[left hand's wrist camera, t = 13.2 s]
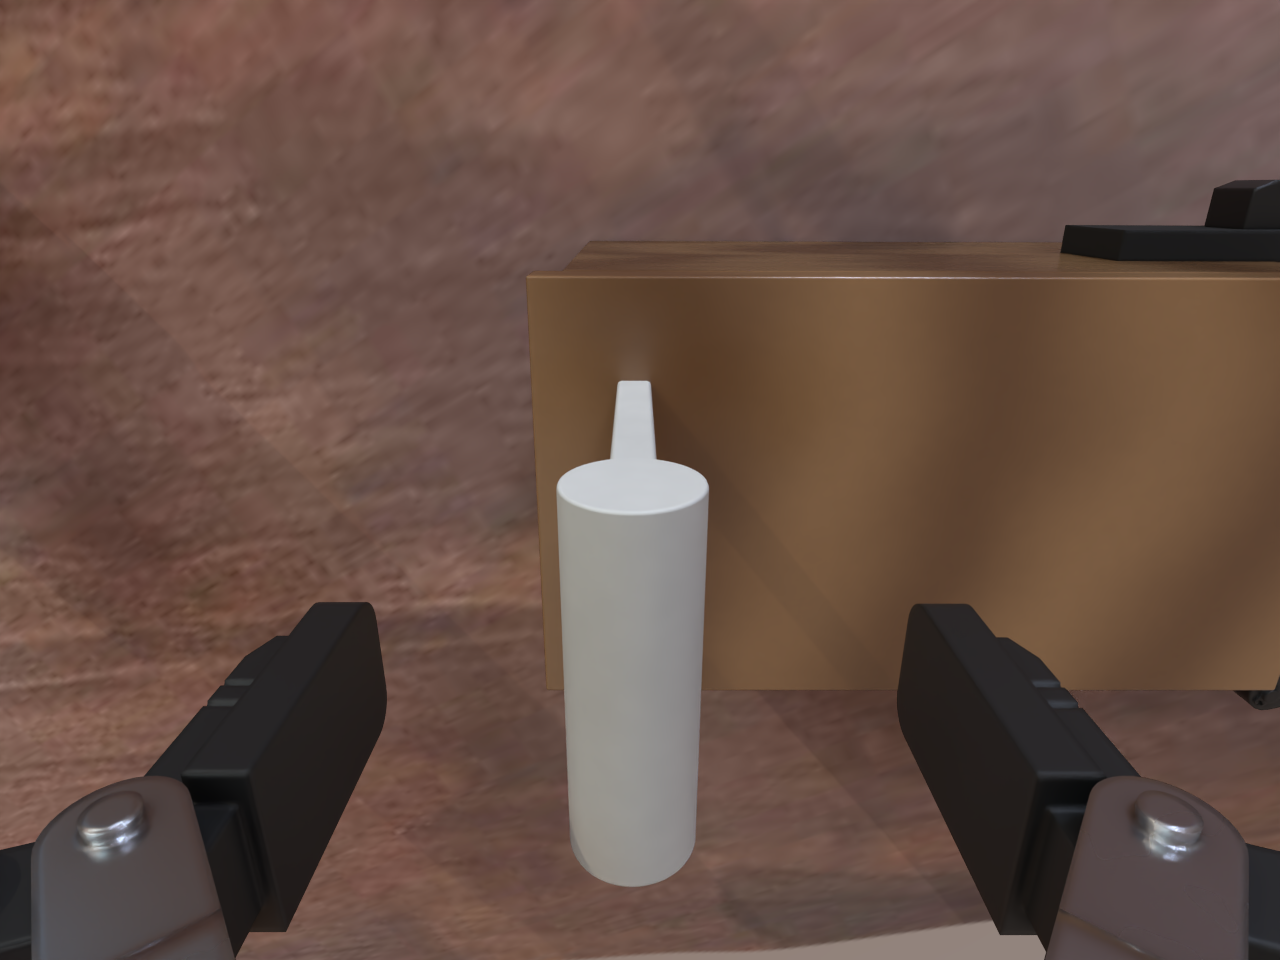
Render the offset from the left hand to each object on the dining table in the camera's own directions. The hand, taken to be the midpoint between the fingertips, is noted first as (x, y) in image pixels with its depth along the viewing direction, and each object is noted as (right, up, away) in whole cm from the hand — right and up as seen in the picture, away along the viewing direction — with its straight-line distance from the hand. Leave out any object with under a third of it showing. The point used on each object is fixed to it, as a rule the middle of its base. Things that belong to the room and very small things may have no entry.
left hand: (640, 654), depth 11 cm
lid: (+7, +2, +6) cm, 10 cm away
